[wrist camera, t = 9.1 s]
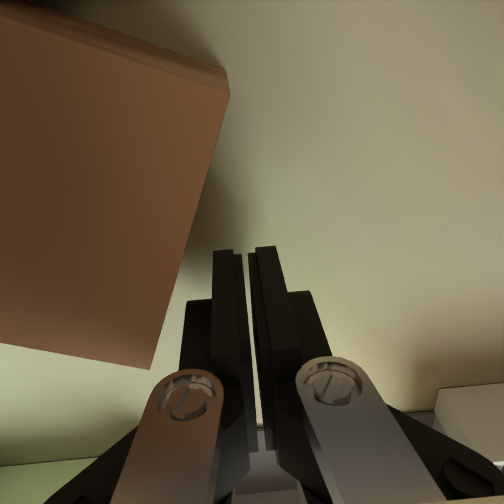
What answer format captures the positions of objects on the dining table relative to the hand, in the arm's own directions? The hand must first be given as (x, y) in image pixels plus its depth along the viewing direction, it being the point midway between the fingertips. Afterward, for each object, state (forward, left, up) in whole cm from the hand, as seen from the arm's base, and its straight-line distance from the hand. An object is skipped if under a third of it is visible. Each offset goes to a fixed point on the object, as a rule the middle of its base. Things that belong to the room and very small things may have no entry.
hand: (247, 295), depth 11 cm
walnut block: (+4, -4, -2) cm, 6 cm away
